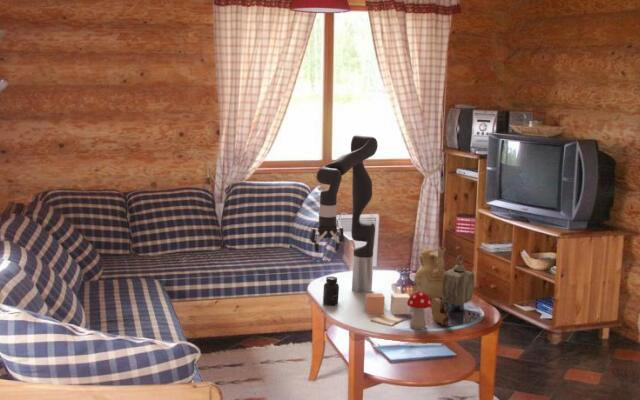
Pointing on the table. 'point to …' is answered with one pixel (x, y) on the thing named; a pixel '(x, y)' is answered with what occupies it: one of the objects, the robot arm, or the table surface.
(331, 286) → the supplement bottle
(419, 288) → the tan upright figure
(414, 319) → the decorative mushroom
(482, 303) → the table surface
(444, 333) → the table surface
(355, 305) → the table surface
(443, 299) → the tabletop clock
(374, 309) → the peach rectangular brick
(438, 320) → the wooden carving
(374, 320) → the birch coaster
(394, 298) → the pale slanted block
